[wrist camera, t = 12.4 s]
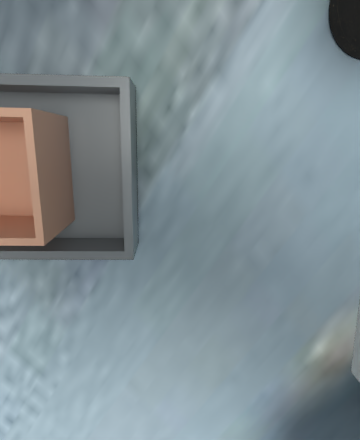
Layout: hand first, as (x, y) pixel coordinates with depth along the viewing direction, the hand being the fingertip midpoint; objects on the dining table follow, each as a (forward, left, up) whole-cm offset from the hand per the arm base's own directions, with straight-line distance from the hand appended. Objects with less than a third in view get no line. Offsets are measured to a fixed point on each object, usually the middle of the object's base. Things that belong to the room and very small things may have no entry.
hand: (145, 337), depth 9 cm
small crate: (+3, +13, -23) cm, 26 cm away
